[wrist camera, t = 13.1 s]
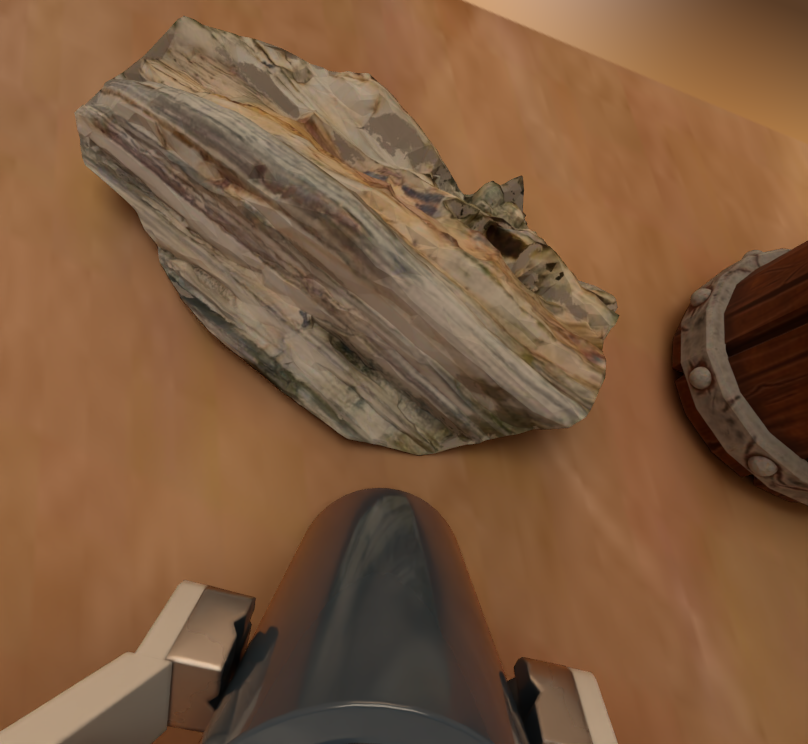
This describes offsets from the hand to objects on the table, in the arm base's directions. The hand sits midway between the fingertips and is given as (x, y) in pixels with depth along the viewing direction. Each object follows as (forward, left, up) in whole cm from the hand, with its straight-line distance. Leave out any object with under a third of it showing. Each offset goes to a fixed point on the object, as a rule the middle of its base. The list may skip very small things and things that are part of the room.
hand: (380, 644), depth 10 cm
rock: (+14, -5, -7) cm, 17 cm away
